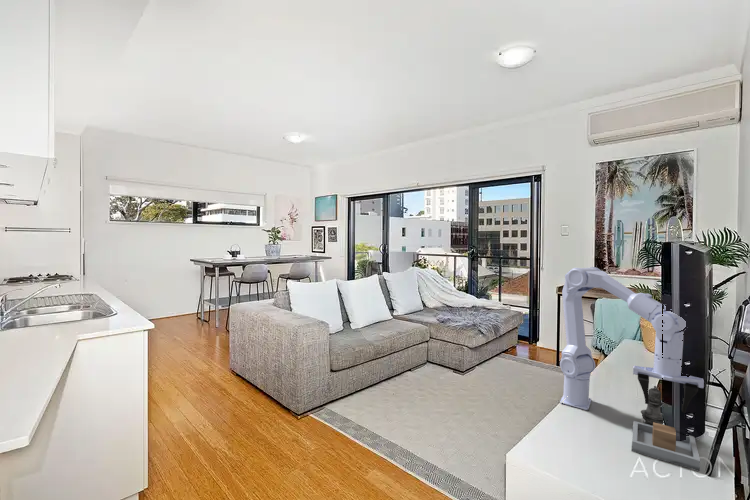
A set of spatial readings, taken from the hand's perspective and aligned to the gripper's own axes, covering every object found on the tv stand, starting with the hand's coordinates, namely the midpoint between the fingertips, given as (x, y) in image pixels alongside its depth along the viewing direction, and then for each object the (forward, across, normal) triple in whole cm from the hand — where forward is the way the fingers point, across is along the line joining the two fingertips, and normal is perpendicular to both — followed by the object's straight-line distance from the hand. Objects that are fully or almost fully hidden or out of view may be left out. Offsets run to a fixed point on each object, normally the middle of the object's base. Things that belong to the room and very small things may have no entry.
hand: (664, 406), depth 98 cm
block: (+9, 0, -4) cm, 10 cm away
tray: (+9, 0, -4) cm, 10 cm away
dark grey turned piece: (+10, -2, +8) cm, 13 cm away
